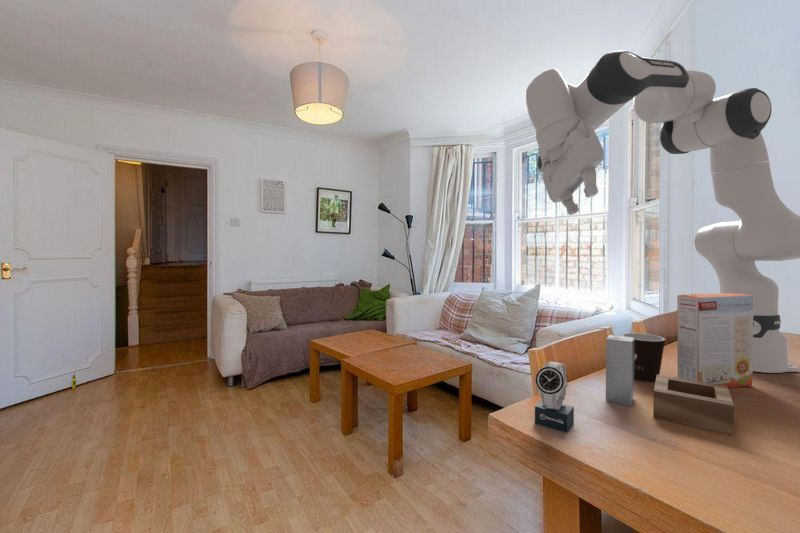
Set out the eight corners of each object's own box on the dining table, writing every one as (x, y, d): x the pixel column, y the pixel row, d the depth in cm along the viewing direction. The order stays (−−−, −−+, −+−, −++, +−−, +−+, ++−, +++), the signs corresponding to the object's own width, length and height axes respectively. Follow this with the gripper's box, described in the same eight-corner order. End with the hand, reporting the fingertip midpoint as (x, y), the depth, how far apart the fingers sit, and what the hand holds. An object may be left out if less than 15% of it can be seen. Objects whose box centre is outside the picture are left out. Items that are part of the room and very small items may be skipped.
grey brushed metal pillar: (609, 393, 78) (609, 334, 78) (633, 398, 75) (634, 337, 75) (605, 400, 74) (606, 338, 74) (631, 406, 72) (632, 341, 71)
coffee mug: (671, 384, 83) (672, 341, 82) (630, 382, 85) (631, 340, 84) (647, 368, 94) (648, 331, 94) (611, 366, 96) (612, 329, 96)
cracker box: (726, 377, 87) (728, 292, 86) (753, 387, 81) (756, 294, 80) (674, 380, 85) (676, 293, 84) (698, 390, 79) (700, 296, 78)
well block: (656, 397, 75) (656, 374, 75) (726, 411, 69) (727, 386, 68) (653, 417, 67) (653, 390, 67) (733, 435, 60) (734, 405, 60)
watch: (530, 427, 64) (531, 366, 63) (545, 411, 70) (545, 355, 69) (564, 437, 60) (565, 372, 60) (576, 419, 66) (577, 361, 66)
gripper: (599, 108, 64) (625, 178, 61) (561, 163, 84) (579, 218, 81) (563, 117, 64) (587, 186, 61) (534, 170, 84) (551, 224, 81)
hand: (582, 205), depth 71 cm, fingers open, 8 cm apart
